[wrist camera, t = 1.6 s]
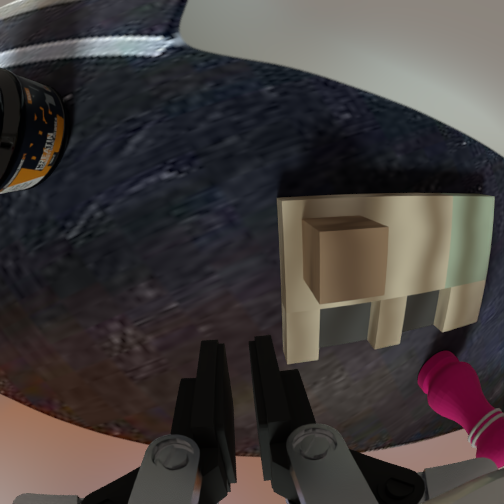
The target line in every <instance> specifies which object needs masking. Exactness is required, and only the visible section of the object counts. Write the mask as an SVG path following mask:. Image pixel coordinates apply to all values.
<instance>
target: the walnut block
mask: <svg viewBox="0 0 504 504" xmlns="http://www.w3.org/2000/svg"><path fill="white" fill-rule="evenodd" d="M388 235H389V227H388V226H385V225H383V224H380V223H378V222H375V221H373V220H370V219H368V218H366V217H363V216H361V215H356V216H338V217H322V218H307V219H302V245H303V279H304V281H305V283H306V284H307V286H308V287H309V289H310V290H311V292H312V293H313V295H314V297H315V298H316V300H317V301H318V303H319V304H328V303H335V302H343V301H350V300H357V299H364V298H370V297H377V296H383V295H384V294H385V284H386V271H387V256H388Z"/></svg>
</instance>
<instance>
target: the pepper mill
mask: <svg viewBox="0 0 504 504" xmlns="http://www.w3.org/2000/svg"><path fill="white" fill-rule="evenodd" d="M418 385H419V386H420V387H421V389H422V390H423V391H424V392H425V393H426V394H428V396H427V397H428V403H429V405H430V407H431V408H432V409H433V410H434V411H435V412H437V413H438V414H440V415H441V416H444V417H446V418H449V419H452V420H454V421H456V422H457V423H459V424H460V425H461V426H462V427H463V428H464V429H465V430H466V432H467V433H468V435H469V436H468V442H470V443H471V445H472V447H474V448H476V447H477V452H476V458H481V457H485V458H488V459H491V460H492V461H493V462H495V464H496V466H497V467H498V468H500V467H503V466H504V413H502V411H501V409H499V408H497V409H495V408H493V407H492V406H491V405H490V404H489V402H488V401H487V400H486V399H485V397H484V395H483V393H482V390H481V386H480V382H479V379H478V376H477V374H476V372H475V370H474V369H473V368H472V367H471V365H470V364H468V363H466V362H459V360H458V358H457V357H456V356H455V355H454V354H453V353H452V352H450V351H441V352H439V353H437V354H435V355H433V356H432V357H431V358H430V359H429V360H428V361H427V362H426V363H425V364H424V365H423V367H422V368H421V370H420V372H419V375H418Z"/></svg>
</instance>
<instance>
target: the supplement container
mask: <svg viewBox="0 0 504 504" xmlns="http://www.w3.org/2000/svg"><path fill="white" fill-rule="evenodd" d="M68 135H69V115H68V110H67V107H66V104H65V102H64V100H63V98H62V97H61V95H60V94H59V93H58V92H57V91H56V90H55V89H54V88H52V87H50V86H48V85H45V84H41V83H37V82H35V81H32V80H29V79H26V78H24V77H21V76H18V75H15V74H13V73H12V72H10V71H9V70H6V69H3V68H0V194H2V193H7V192H12V191H17V190H27V189H31V188H34V187H36V186H38V185H39V184H41V183H42V182H44V181H45V180H46V179H47V178H48V177H49V176H50V175H51V174H52V173H53V171H54V170H55V169H56V167H57V166H58V164H59V162H60V160H61V158H62V156H63V154H64V151H65V148H66V145H67V141H68Z"/></svg>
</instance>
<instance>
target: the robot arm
mask: <svg viewBox="0 0 504 504" xmlns="http://www.w3.org/2000/svg"><path fill="white" fill-rule="evenodd" d="M249 351H250V362H251V372H252V383H253V393H254V403H255V412H256V420H257V429H258V437H259V445H260V453H261V461H262V469H263V476H264V481H266V480H271V485H272V488H273V490H274V492H276V493H277V494H279V495H281V496H283V497H285V498H286V503H287V504H504V468H503V469H500V470H498V467H497V466H496V464H495V462H493V461H492V460H491V459H488V458H485V457H481V458H475V459H471V460H467V461H462V462H458V463H453V464H448V465H443V466H438V467H433V468H426V469H424V471H423V472H418V473H416V472H415V471H412V470H410V469H407V468H404V467H401V466H397V465H394V464H391V463H388V462H384V461H382V460H379V459H376V458H373V457H370V456H367V455H364V454H361V453H359V452H356V451H353V450H351V449H348V447H347V445H346V443H345V442H344V440H343V438H342V436H341V435H340V434H339V432H338V431H337V430H335V429H334V428H332V427H331V426H327V425H324V424H316V421H315V418H314V415H313V412H312V409H311V406H310V403H309V400H308V397H307V394H306V391H305V388H304V385H303V382H302V379H301V376H300V373H299V371H298V369H294V370H286V371H279V367H278V363H277V359H276V355H275V351H274V347H273V343H272V339H271V335H266V336H256V337H255V341H249ZM236 480H237V478H236V457H235V434H234V409H233V399H232V392H231V386H230V379H229V372H228V365H227V358H226V351H225V345H224V343H223V344H219V343H218V340H206V341H201V347H200V354H199V362H198V369H197V377H196V378H183V379H181V381H180V386H179V391H178V396H177V401H176V407H175V412H174V418H173V423H172V429H171V435H166V436H162V437H160V438H158V439H156V440H154V441H153V442H152V443H151V444H150V445H149V446H148V448H147V450H146V452H145V455H144V458H143V461H142V463H141V466H140V467H138V468H136V469H135V470H133V471H131V472H129V473H128V474H126V475H124V476H122V477H121V478H119V479H117V480H115V481H113V482H111V483H109V484H108V485H106V486H104V487H102V488H100V489H98V490H96V491H94V492H92V493H90V494H89V495H87V496H86V497H85V498H79V497H78V496H77V495H44V494H31V493H26V494H21V495H19V496H17V497H16V499H15V500H14V501H13V504H219V503H218V502H219V501H221V500H222V499H223V498H224V497H226V496H227V492H231V490H230V483H236V482H237V481H236Z"/></svg>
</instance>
